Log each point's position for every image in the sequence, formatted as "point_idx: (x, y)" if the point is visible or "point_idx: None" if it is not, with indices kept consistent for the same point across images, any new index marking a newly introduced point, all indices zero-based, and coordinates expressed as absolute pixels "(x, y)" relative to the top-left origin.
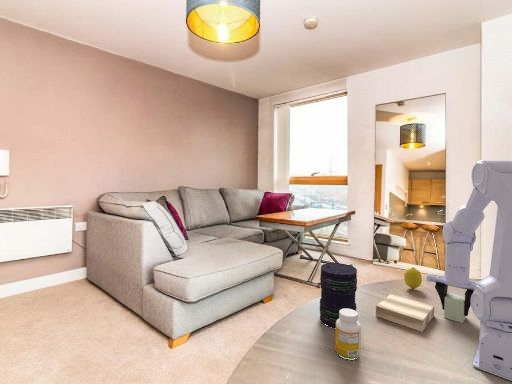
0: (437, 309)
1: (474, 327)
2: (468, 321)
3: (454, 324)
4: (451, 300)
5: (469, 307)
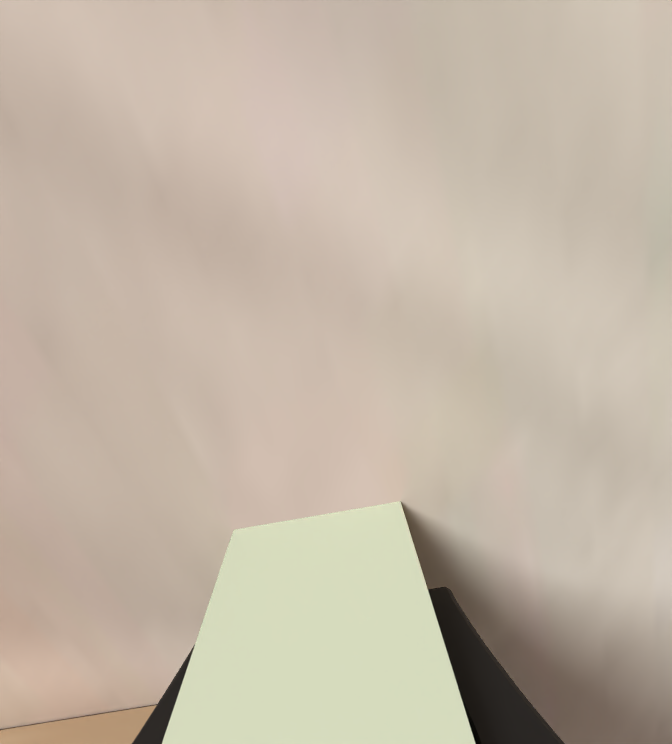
0: (143, 548)
1: (508, 630)
2: (444, 565)
3: None
4: None
5: (493, 667)
